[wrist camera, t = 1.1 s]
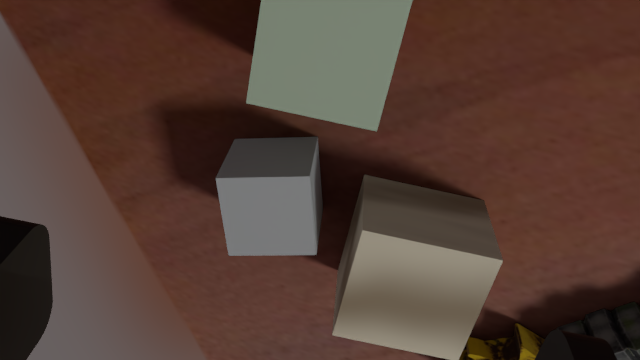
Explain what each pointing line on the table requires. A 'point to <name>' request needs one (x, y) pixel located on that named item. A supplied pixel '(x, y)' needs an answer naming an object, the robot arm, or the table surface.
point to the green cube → (327, 57)
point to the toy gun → (616, 328)
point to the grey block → (271, 196)
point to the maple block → (414, 268)
